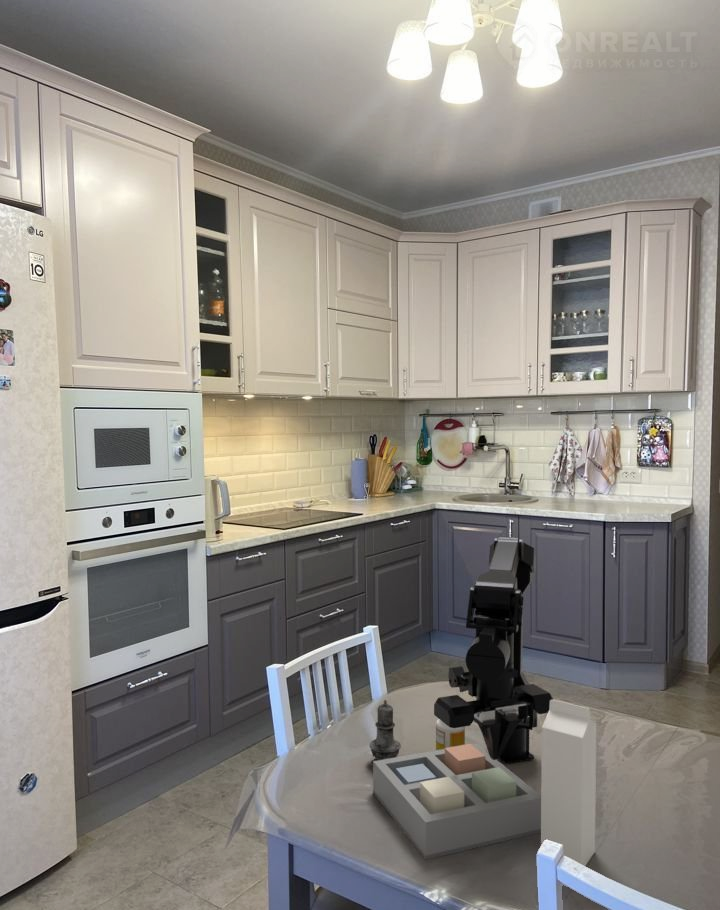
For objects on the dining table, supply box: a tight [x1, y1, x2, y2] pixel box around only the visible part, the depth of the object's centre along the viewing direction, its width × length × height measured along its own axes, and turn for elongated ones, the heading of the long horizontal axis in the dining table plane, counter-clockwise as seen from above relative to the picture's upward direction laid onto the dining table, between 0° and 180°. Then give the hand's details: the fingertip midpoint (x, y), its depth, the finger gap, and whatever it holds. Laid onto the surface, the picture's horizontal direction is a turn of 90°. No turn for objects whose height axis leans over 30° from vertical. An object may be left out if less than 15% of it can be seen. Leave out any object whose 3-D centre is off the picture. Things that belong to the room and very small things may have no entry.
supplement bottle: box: [435, 718, 466, 751], centre depth 128 cm, size 5×5×10 cm
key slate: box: [396, 764, 436, 785], centre depth 113 cm, size 5×5×4 cm
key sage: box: [472, 767, 516, 803], centre depth 108 cm, size 5×5×4 cm
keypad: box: [372, 743, 541, 861], centre depth 111 cm, size 20×20×5 cm
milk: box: [540, 699, 597, 866], centre depth 99 cm, size 6×6×22 cm
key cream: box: [420, 777, 464, 814], centre depth 105 cm, size 5×5×4 cm
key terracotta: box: [445, 743, 485, 775], centre depth 117 cm, size 5×5×4 cm
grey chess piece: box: [369, 699, 402, 768], centre depth 127 cm, size 6×6×12 cm
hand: (494, 758), depth 108 cm, fingers closed
